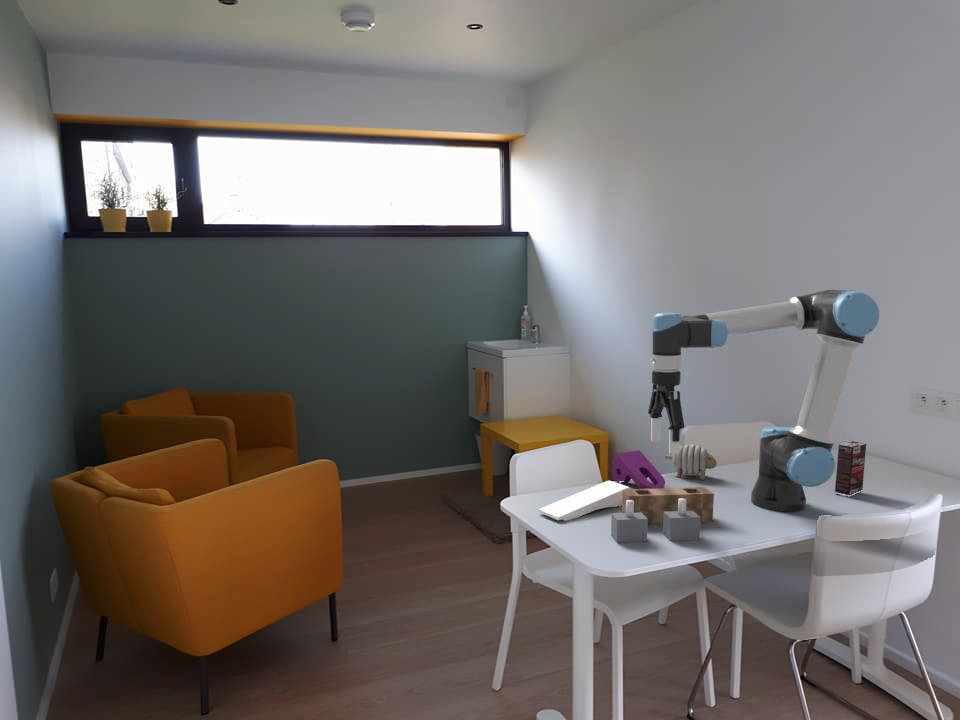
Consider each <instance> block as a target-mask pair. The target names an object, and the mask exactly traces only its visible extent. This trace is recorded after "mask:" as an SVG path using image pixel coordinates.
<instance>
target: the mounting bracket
mask: <svg viewBox="0 0 960 720" xmlns="http://www.w3.org/2000/svg"><path fill="white" fill-rule="evenodd" d="M611 474H612V478H613V480H614V482H615V483H618V482H619V481H624V482H621V483H622V484H627V483H629V482H630V481H631V480H632V481H633V483H634V484H635V485H636V486H637V488H638V489H658V488H664V487H665V485H666V481H665V480H666V479H665V478H664V477H663V475H662V474H661V473H660V471H658V469H657V468H656V467H655V465H653V464H652V462H650V460H649V459H648V458H647V457H646V455H644V454H643V452H642V451H641V450H639V449H638V450H632V451H623V452H616V454H615V456H614V459H613V461H612V465H611ZM648 479H649V480H650V481H649V480H648ZM651 482H652V483H651Z"/></svg>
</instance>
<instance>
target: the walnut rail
mask: <svg viewBox="0 0 960 720" xmlns="http://www.w3.org/2000/svg"><path fill="white" fill-rule="evenodd" d="M714 496H715V494H714V492H712V491H711V490H710V489H708V488H707V487H706V486H701V487H699V486H697V487H695V486H693V487H667V488H666V487H665V488H658V489H640V488H631V489H630V488H629V489H624V490H622V506H621V513H626V500H633V501H634V513H639V512H641V513H642V514H643V515H644V516H645V517H646V518H647V519H648V525H653V524H655V523H659V524H663V514H664V512H669V511H678V499H679V498H684V499H686V511H694V512H695V513H696V514H697V515H699V516H700V517H701V519H700V523H708V522H709V523H710V522H714V521H713V520H714V500H715V499H714V498H715V497H714Z"/></svg>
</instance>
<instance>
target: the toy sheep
mask: <svg viewBox="0 0 960 720" xmlns="http://www.w3.org/2000/svg"><path fill="white" fill-rule="evenodd" d="M664 459H665V460H671V461H672V464H673V465H674V467H676V469H677V471H676V477H678V478H681V476H682V474H683V475H688V476H690V477H692V476H694V475H695V476H700V477H699V479H700V480H701V481H704V480H705V477H706V470H711V469H714V468H716V467H717V460H716V459H715V457H714V456H713V455H712V454H710V453H709V452H708V450H707V448H706V447H701V445H695V444H693V443H692V444H690V445H689V444H685V445H684V446H683V445H680V453H672V454H665V455H664ZM681 473H682V474H681Z"/></svg>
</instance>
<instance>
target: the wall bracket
mask: <svg viewBox="0 0 960 720" xmlns="http://www.w3.org/2000/svg"><path fill="white" fill-rule="evenodd" d="M624 489H630V488H629V486H627V485H623V484H620V483H618V482H616V481H611V480H606V481H603V482H602V483H598V484H597V485H593V486H591V487H590V488H587V489H585V490H582V491H580V492H577V493H574V494H572V495H569V496H568V497H565V498H562V499H560V500H557V501H555V502H553V503H550V504H548V505H546V506H543V507H540V508H538V512H539V514H543V515H545V516H547V517H549V518H551V519H553V520H556V521H561V520H563V521H565V522H566V521H569V520H574V519H576V518H577V519H578V518H579V517H581V516H583V515H584V516H585V515H586V514H587V515H588V514H589V513H591V512H594V511H597V510H600V509H605V508H615V507H617V506H619V507H622V506H621V505H622V490H624ZM617 508H618V507H617ZM573 518H574V519H573Z"/></svg>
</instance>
